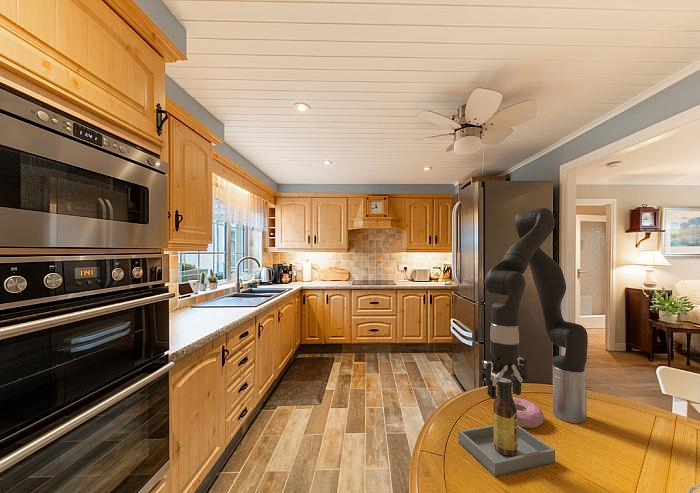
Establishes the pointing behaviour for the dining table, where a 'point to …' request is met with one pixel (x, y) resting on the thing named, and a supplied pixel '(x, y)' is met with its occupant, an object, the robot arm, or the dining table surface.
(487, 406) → the dining table surface
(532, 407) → the donut
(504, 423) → the sauce bottle
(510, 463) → the tray
